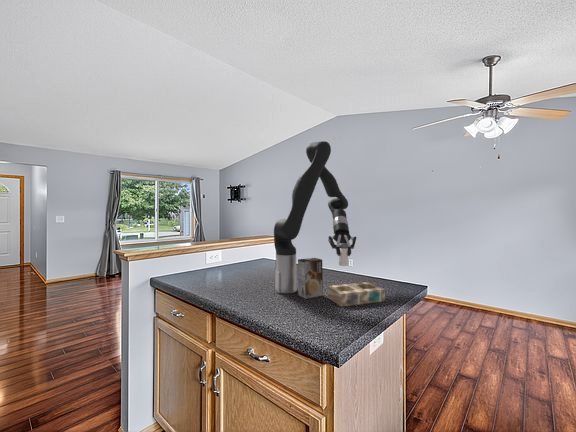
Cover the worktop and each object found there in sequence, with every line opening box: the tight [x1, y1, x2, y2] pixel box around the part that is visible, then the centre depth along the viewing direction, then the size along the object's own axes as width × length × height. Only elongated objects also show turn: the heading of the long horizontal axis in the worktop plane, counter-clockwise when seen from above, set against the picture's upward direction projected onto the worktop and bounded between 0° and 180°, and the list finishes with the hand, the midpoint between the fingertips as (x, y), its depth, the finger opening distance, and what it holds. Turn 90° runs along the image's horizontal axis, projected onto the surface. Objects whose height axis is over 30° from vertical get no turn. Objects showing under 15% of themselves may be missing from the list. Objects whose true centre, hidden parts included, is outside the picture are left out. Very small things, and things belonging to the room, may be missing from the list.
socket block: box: [327, 281, 386, 307], centre depth 120 cm, size 20×12×5 cm, turn 107°
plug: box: [338, 243, 349, 267], centre depth 134 cm, size 4×4×10 cm
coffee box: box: [297, 257, 324, 299], centre depth 126 cm, size 9×6×16 cm
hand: (344, 254), depth 132 cm, fingers closed on plug, 4 cm apart
